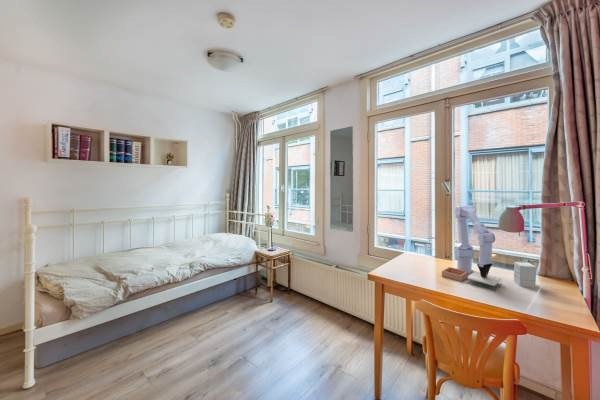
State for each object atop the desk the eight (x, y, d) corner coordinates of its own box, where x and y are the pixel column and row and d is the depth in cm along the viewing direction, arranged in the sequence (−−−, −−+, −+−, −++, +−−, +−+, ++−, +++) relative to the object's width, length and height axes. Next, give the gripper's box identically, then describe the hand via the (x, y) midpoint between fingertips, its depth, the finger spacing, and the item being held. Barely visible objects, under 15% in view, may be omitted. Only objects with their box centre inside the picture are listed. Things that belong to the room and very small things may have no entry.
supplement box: (528, 283, 145) (529, 262, 144) (535, 288, 138) (537, 267, 137) (512, 282, 148) (514, 261, 147) (519, 287, 141) (520, 265, 140)
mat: (473, 277, 155) (474, 276, 155) (502, 285, 144) (502, 284, 144) (465, 284, 146) (465, 283, 146) (495, 292, 135) (495, 291, 135)
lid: (474, 273, 154) (475, 266, 153) (501, 279, 144) (501, 272, 143) (467, 278, 146) (467, 272, 145) (494, 285, 136) (494, 278, 135)
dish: (448, 272, 164) (448, 266, 163) (467, 277, 155) (468, 271, 155) (441, 277, 157) (441, 270, 156) (461, 282, 148) (461, 276, 148)
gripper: (490, 257, 136) (488, 281, 137) (497, 252, 145) (496, 274, 146) (475, 254, 141) (473, 277, 142) (483, 249, 150) (481, 271, 151)
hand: (484, 275), depth 144 cm, fingers closed on lid, 3 cm apart
